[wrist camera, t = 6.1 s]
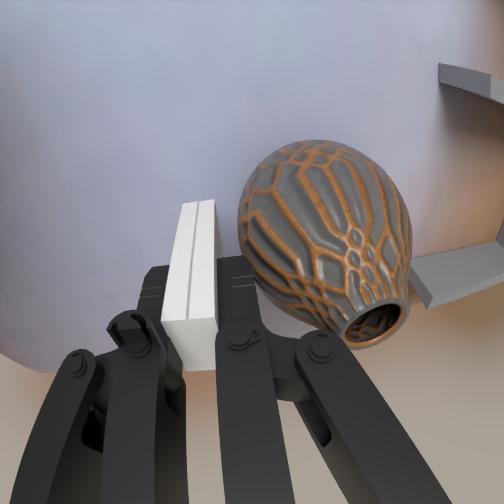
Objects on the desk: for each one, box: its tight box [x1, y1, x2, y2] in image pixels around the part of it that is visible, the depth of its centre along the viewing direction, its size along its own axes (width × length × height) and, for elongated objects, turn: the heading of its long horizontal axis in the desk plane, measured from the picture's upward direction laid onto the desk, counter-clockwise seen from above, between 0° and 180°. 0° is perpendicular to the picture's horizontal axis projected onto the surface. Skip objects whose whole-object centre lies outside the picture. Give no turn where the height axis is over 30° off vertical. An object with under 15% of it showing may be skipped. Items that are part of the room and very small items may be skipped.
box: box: [408, 63, 504, 309], centre depth 13 cm, size 14×15×4 cm
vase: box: [237, 140, 412, 350], centre depth 10 cm, size 7×7×9 cm
